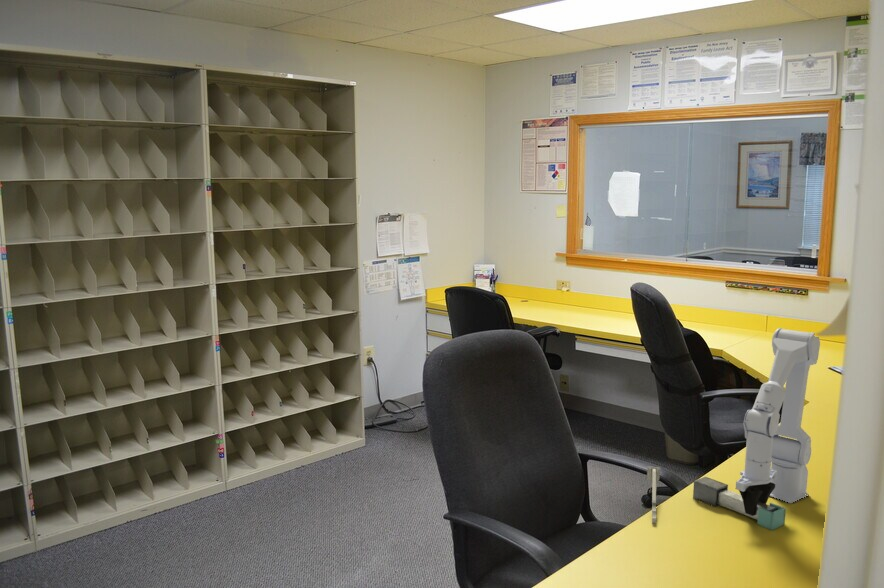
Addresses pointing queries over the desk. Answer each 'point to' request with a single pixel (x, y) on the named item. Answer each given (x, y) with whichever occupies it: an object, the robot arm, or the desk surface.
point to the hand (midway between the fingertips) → (754, 512)
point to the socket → (771, 517)
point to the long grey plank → (739, 503)
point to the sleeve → (708, 490)
